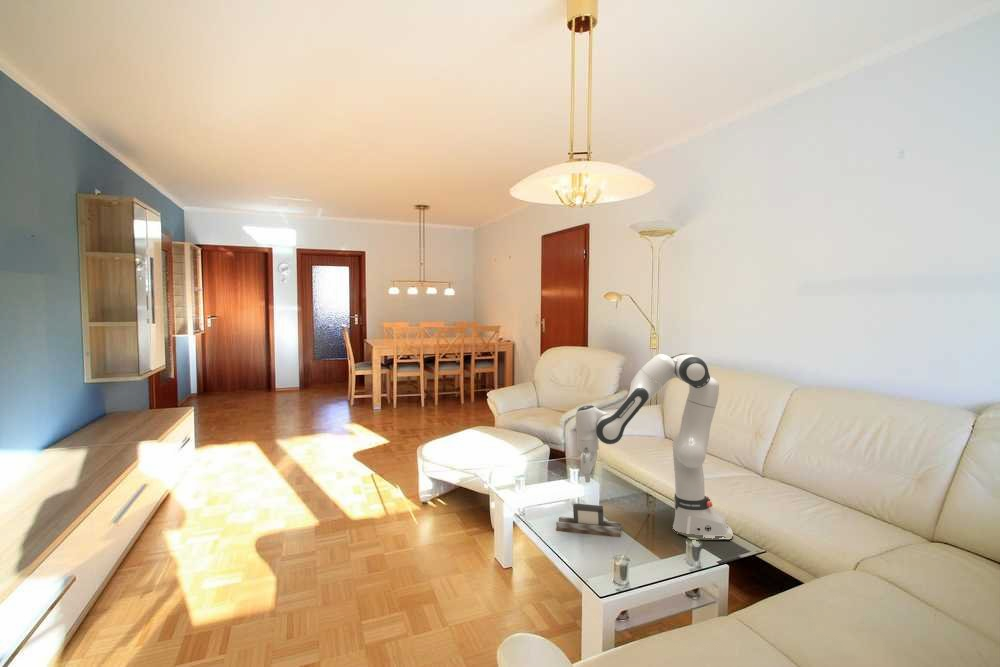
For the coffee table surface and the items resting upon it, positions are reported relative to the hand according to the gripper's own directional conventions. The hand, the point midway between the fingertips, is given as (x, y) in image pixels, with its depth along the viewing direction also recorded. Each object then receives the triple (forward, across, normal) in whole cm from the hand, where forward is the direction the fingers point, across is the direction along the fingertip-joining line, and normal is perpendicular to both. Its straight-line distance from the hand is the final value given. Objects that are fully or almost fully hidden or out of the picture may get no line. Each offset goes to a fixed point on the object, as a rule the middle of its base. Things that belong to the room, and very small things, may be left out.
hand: (589, 478), depth 201 cm
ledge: (+21, -1, +1) cm, 21 cm away
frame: (+20, -1, +1) cm, 20 cm away
